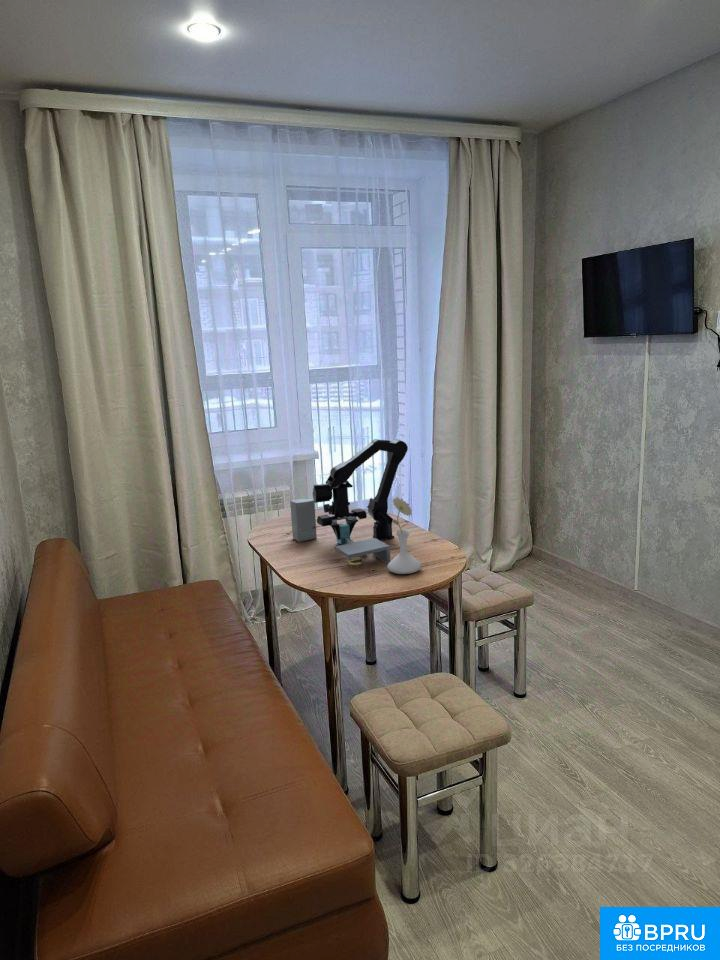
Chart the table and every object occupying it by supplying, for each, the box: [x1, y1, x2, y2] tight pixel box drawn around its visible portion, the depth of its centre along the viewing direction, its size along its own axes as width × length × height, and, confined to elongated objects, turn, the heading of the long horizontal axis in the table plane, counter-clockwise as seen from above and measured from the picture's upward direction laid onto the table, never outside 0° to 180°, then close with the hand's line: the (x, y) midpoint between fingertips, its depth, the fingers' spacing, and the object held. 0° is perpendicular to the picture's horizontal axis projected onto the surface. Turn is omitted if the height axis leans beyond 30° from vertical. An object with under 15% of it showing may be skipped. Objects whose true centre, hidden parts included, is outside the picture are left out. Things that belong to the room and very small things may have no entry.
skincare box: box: [289, 497, 318, 543], centre depth 262 cm, size 8×7×16 cm
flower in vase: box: [387, 496, 422, 575], centre depth 219 cm, size 13×11×25 cm
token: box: [347, 557, 363, 568], centre depth 230 cm, size 5×5×2 cm
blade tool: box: [336, 522, 368, 556], centre depth 247 cm, size 4×20×7 cm, turn 27°
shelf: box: [334, 537, 391, 564], centre depth 231 cm, size 16×11×6 cm
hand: (343, 538), depth 254 cm, fingers closed on blade tool, 4 cm apart
